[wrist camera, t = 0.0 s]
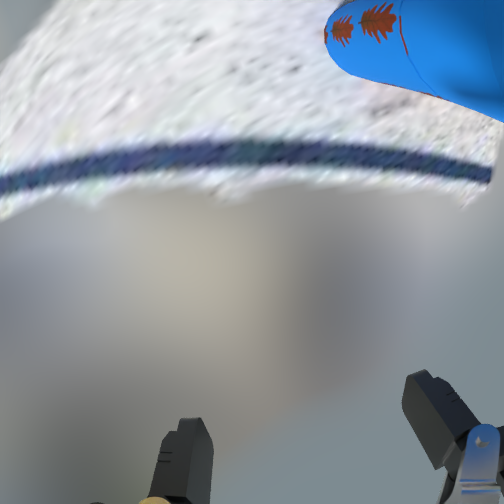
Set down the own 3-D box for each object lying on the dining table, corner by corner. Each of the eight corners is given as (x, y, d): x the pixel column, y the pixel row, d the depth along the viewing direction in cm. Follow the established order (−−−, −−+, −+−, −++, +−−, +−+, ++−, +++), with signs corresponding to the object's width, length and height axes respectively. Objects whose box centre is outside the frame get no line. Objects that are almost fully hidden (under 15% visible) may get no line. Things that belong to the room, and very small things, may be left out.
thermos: (320, -2, 23) (466, -63, 3) (396, 13, 23) (558, 16, 3) (323, 76, 29) (479, 117, 9) (397, 85, 30) (556, 147, 9)
